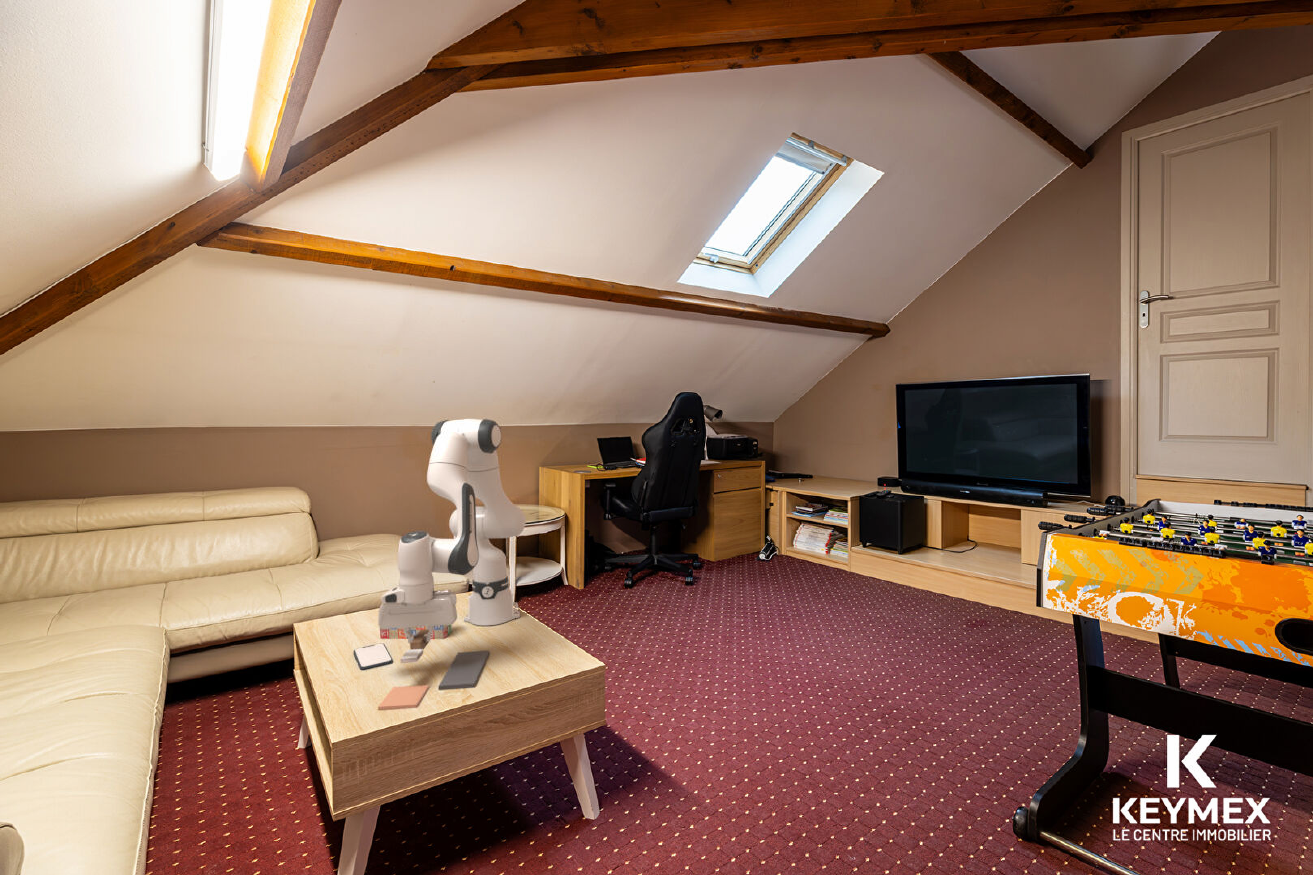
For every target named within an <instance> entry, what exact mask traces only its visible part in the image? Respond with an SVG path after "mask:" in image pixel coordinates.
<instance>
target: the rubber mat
mask: <svg viewBox="0 0 1313 875" xmlns="http://www.w3.org/2000/svg"><path fill="white" fill-rule="evenodd" d="M489 656H490V650H488V649H487V650H478V651H477V650H475V651H462V652H459V651H458V652H457V654H456V655H455V657H454V659H453V661H452V662H451V664H450V666H449V668H448V669H447V671H446V673H445V675H443V677H442V680H441V681H440V683H439V685H438V691H439V690H440V691H441V690H443V691H444V690H453V689H454V690H455V689H467V688H468V689H469V688H475V687H476V684H477V682H478V680H479V678H480V676H481V674H482V671H483V669H484V667H485V665H486V663H487V660H488V658H489Z"/></svg>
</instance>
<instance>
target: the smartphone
mask: <svg viewBox="0 0 1313 875" xmlns="http://www.w3.org/2000/svg"><path fill="white" fill-rule="evenodd" d="M353 656H354V658H355V661H356V664H357V663H358V664H357V665H358V668H359V670H360V671H368V670H372V669H375V668H377V669H378V668H381V667H384V666H388V665H392V664H393V663H394V659H393V658H392V655H391V654H390V652H389V650H388V648H387V647H386V645H385V643H377V644H371V645H367V646H362V647H358V648H356V649H354V650H353Z"/></svg>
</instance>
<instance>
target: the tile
mask: <svg viewBox="0 0 1313 875" xmlns="http://www.w3.org/2000/svg"><path fill="white" fill-rule="evenodd" d="M429 689H430V684H422V685H407V686H393V687H392V688H391V690H390V691H389V692H388V693H387V695H386V696H385V697H384V699H383V700H382V701H381V702H380V704H379V705H378V706H377V711H390V710H401V709H402V710H404V709H417V708H418V706H419V704H420V703H421V701H422V699H423V698H424V697H425V695H426V694H427V691H428V690H429Z"/></svg>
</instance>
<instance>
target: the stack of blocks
mask: <svg viewBox="0 0 1313 875" xmlns="http://www.w3.org/2000/svg"><path fill="white" fill-rule="evenodd" d="M420 630H427V626H424V627H411V629H410V632H411V633H412V635H415V636H416V635H417V634H418V633H419V631H420ZM452 632H453V630H452V625H440V626H434V629H433V631H432V632H431V640H445V639H446V638H447V637H448V636H449V635H450V634H451V633H452ZM379 634H380V636H379V637H380V639H391V640H393V639H394V640H396V639H397V640H401V639H402V640H403V639H404V640H408V637H407V636H406V634H405V633H404V632H403V628H392V629H381V628H380V627H379Z"/></svg>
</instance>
